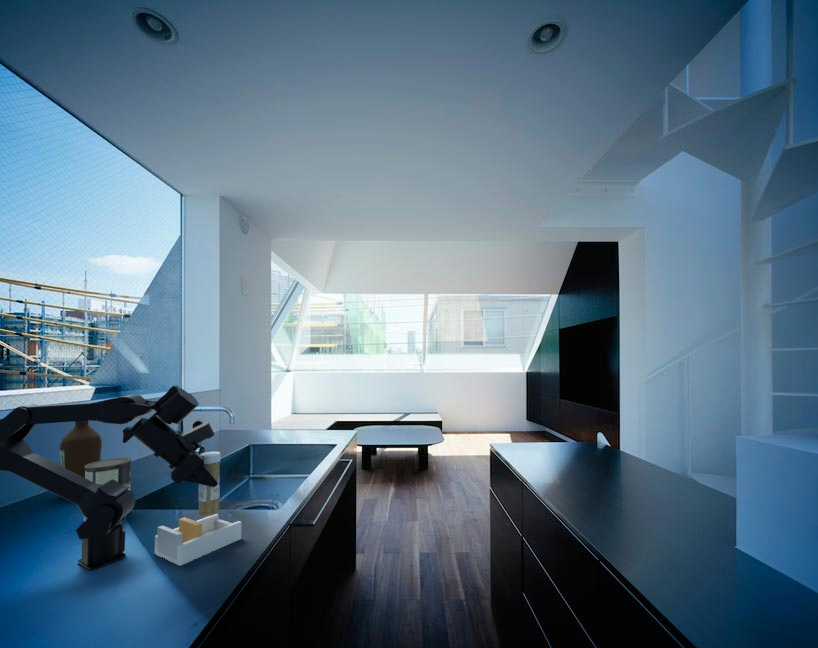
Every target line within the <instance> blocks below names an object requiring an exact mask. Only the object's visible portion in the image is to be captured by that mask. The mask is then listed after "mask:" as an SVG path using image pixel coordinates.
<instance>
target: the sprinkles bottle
mask: <svg viewBox="0 0 818 648" xmlns="http://www.w3.org/2000/svg"><path fill="white" fill-rule="evenodd" d="M200 455H201V456H204V466H205V468H206V469H207V470H208V471H209V472H210V474H211V475H212V476H213V477H214V479H215V480H216V481H217V482H218V484H217V485H216V487H210V486H206V485H201V484H198V511H197V515H198V516H199V517H203V518H205V517H208V516H212V515H214V514H218V513H219V512H220V511H221V509H220V495H221V494H220V489H221V488H220V487H221V485H220V483H221V481H220V479H221V478H220V477H221V476H220V472H221V471H220V466H221V465H220V463H221V451H207V452H203V453H202V454H200Z"/></svg>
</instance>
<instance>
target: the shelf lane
mask: <svg viewBox="0 0 818 648" xmlns="http://www.w3.org/2000/svg"><path fill="white" fill-rule="evenodd" d="M196 521H197V522H200V523H202V536H199V537H197V538H194V539H192V540H189V541H187V542H184V543H182V542H183V533H181V532H179V526H178V527H175V528H173V529H172V528H170V527H168V526H165V525H160V526H157V531H156V532H157V533H156V535H155V536H154V555H155V554H156V556H157V557H160V558H162V557H163V558H162V559H164V558H165V559H164V560H166V561H169V562H171V563H173V564H175V565H177V566H183V565H186V564H189V563H190V562H192V561H195V560H196V559H197V560H198V559H199V558H201V557H203V555H204V556H206V555H208V554H210V553H213V552H215V551H218V550H219V549H222V548H224V547H226V546H228V545H230V544H232V543H235V542H237V541H240V540H242V521H240V520H238V521H234V522H233V523H232V522H230V521H226V520H224V519H220V518H219V514H218V513H217V514H214V515H212V516H205V517H203V518H201V519H197V520H196ZM212 551H213V552H212ZM194 559H195V560H194Z"/></svg>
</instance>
